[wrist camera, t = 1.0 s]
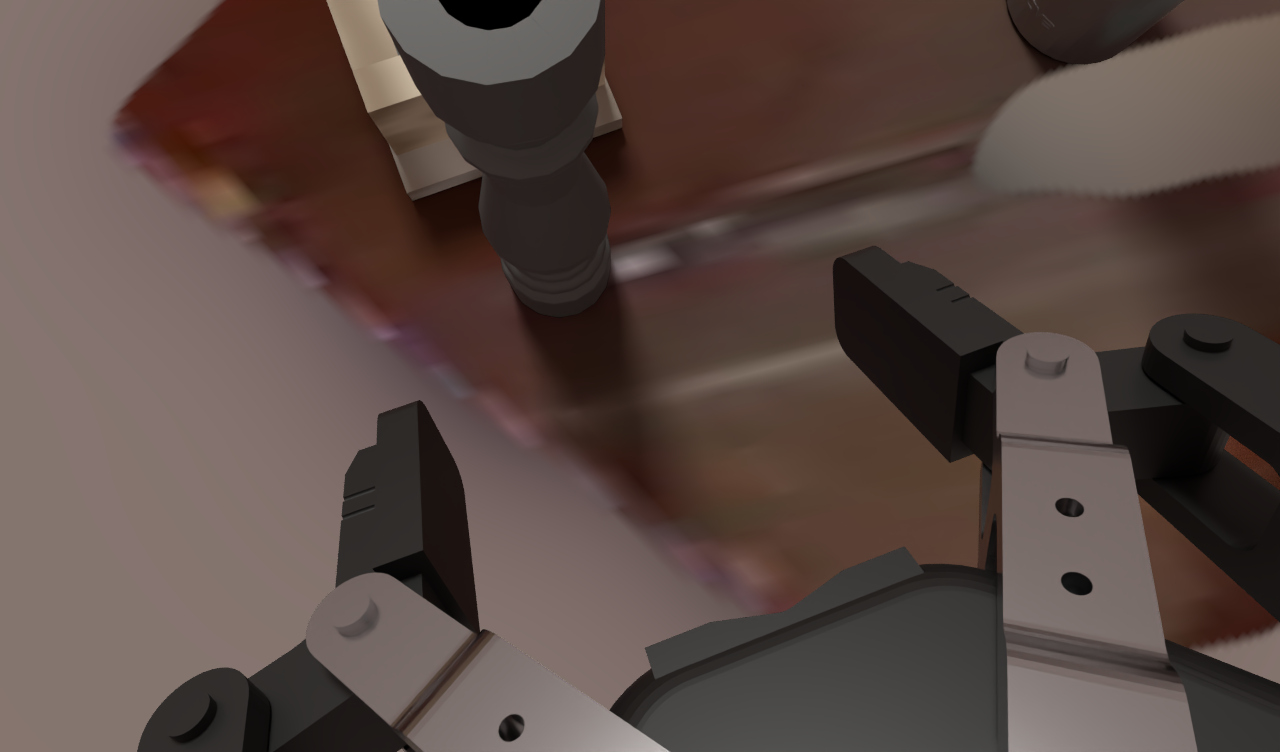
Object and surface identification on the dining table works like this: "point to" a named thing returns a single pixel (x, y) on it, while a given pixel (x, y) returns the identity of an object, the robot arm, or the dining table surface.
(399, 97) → the socket
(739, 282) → the dining table surface
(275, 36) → the dining table surface
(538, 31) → the candle holder
